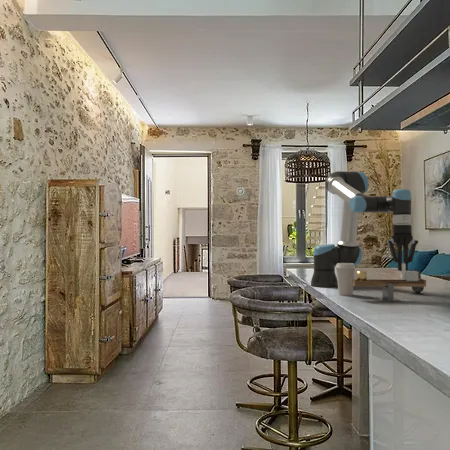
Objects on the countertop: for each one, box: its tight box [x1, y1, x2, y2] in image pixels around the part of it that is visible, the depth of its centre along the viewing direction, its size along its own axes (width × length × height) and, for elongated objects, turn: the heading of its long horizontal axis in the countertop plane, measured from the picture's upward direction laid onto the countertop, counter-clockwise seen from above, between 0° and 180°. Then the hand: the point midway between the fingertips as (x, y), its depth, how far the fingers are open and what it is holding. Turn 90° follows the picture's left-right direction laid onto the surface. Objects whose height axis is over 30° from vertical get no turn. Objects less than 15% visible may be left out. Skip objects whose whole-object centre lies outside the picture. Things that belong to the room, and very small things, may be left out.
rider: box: [402, 270, 418, 281], centre depth 180 cm, size 5×5×5 cm
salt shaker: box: [411, 269, 425, 296], centre depth 199 cm, size 6×6×12 cm
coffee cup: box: [335, 263, 357, 297], centre depth 198 cm, size 10×10×15 cm
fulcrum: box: [375, 283, 401, 303], centre depth 180 cm, size 9×8×8 cm
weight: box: [356, 270, 368, 281], centre depth 182 cm, size 4×4×5 cm
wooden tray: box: [351, 277, 427, 288], centre depth 180 cm, size 7×30×3 cm, turn 85°
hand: (402, 278), depth 180 cm, fingers closed
